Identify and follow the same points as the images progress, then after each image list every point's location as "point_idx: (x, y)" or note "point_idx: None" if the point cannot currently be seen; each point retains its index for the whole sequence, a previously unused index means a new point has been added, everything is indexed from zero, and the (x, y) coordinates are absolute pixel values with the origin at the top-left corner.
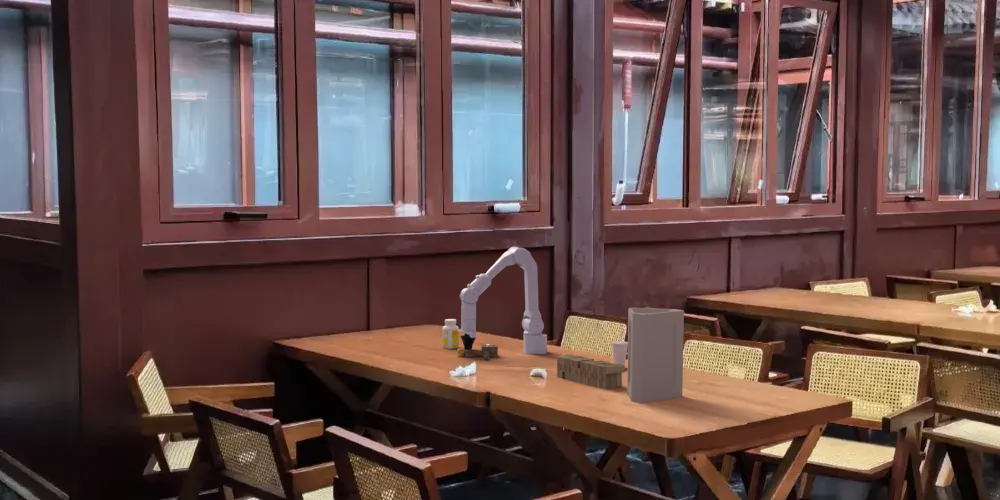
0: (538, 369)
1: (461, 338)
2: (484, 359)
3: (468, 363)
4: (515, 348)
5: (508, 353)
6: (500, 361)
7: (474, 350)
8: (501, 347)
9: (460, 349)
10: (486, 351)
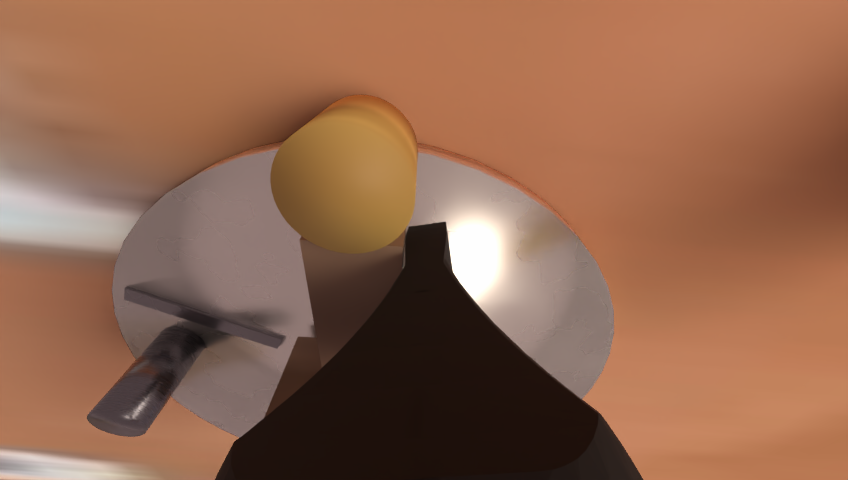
0: (99, 472)
1: (531, 388)
2: (153, 340)
3: (141, 191)
4: (736, 472)
5: None
6: None
7: (318, 342)
8: (829, 440)
9: (275, 178)
10: (129, 426)
